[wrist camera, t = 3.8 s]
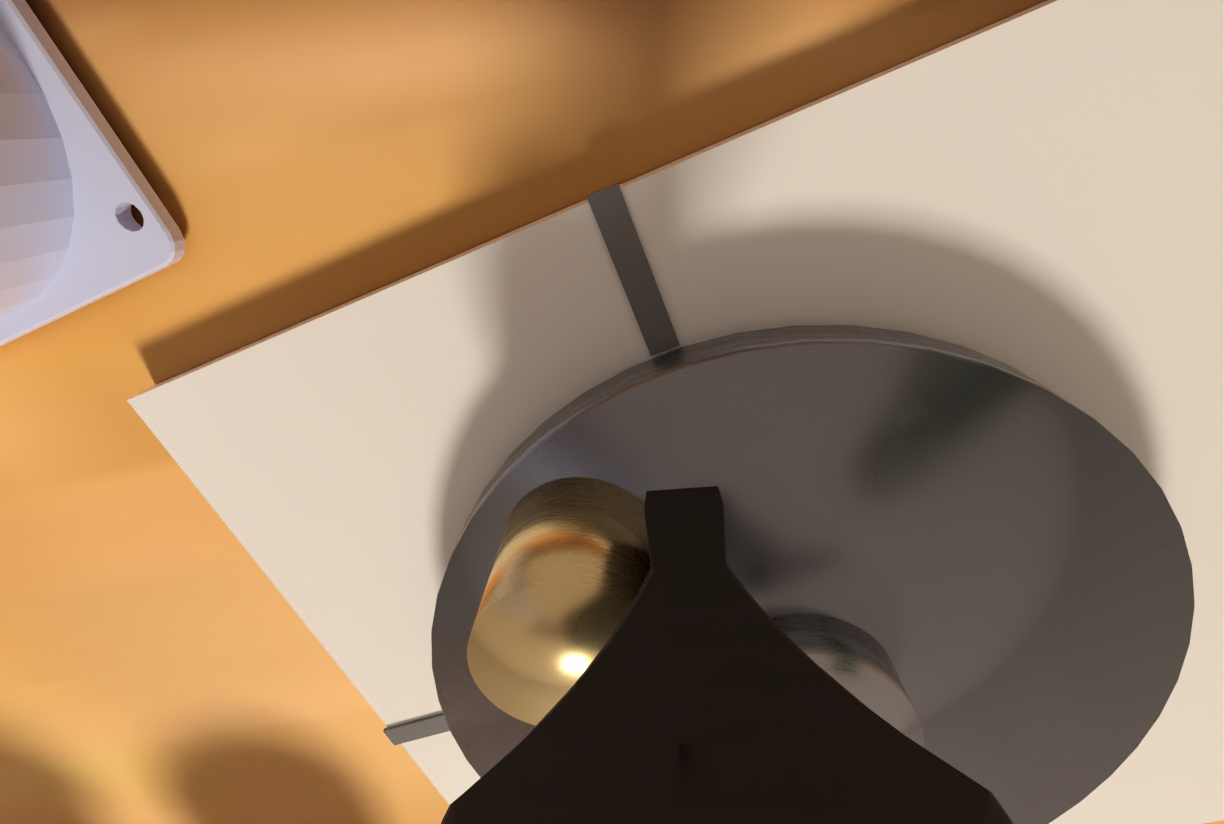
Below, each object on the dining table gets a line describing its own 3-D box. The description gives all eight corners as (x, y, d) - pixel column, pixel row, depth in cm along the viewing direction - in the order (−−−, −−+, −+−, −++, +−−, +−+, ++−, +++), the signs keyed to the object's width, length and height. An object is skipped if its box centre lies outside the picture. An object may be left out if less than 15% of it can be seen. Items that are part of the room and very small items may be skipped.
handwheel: (323, 663, 16) (221, 837, 12) (802, 127, 10) (903, 132, 6) (770, 915, 20) (801, 1107, 16) (1292, 632, 14) (1535, 824, 10)
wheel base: (147, 382, 14) (105, 405, 13) (1263, -100, 10) (1343, -129, 8) (556, 912, 22) (552, 953, 21) (1248, 783, 18) (1287, 825, 17)
